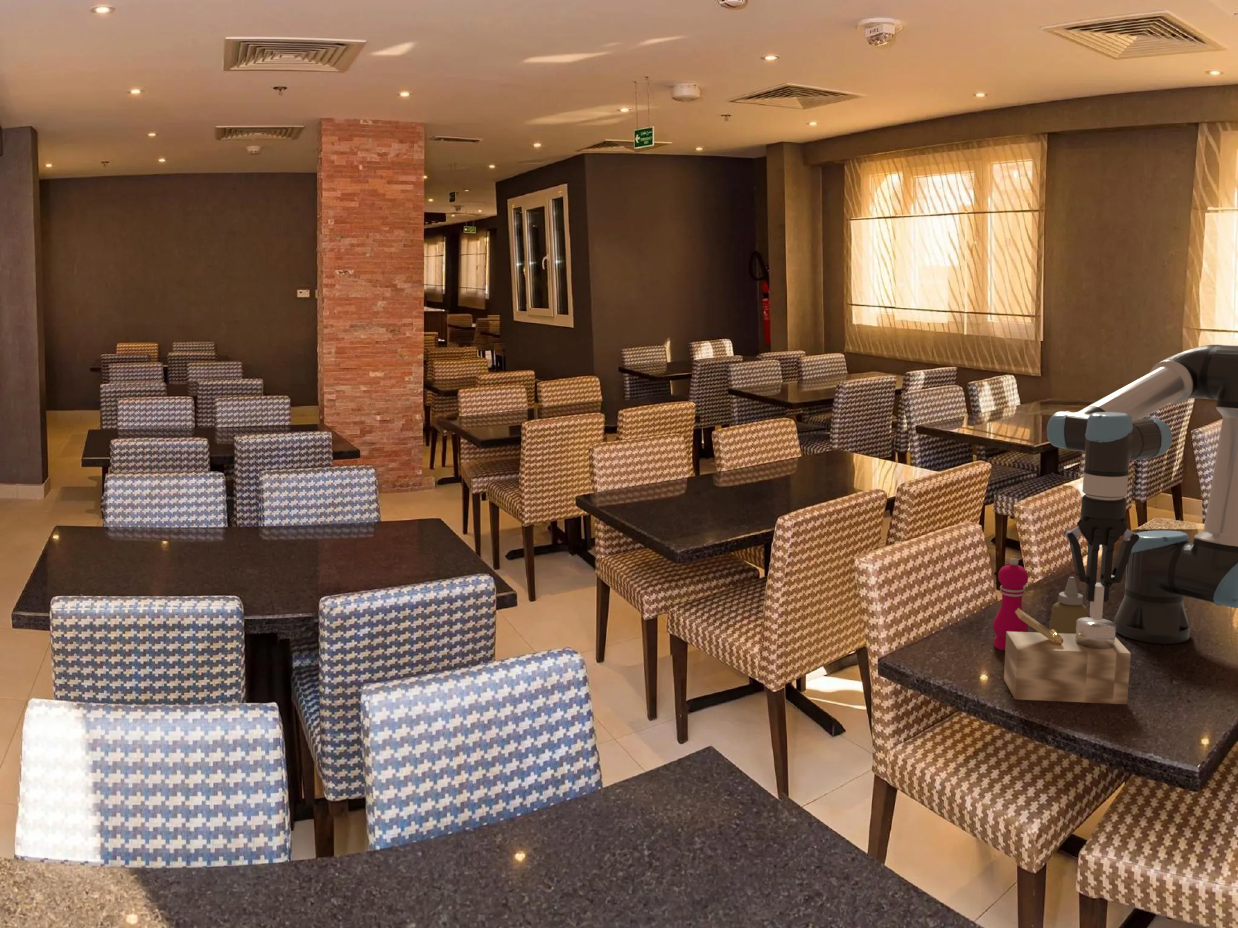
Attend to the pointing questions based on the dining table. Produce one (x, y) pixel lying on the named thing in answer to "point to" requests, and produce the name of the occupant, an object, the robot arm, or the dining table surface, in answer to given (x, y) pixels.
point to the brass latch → (1040, 627)
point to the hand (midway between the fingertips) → (1095, 617)
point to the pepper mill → (1010, 602)
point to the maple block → (1065, 670)
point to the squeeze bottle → (1068, 609)
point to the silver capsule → (1095, 633)
